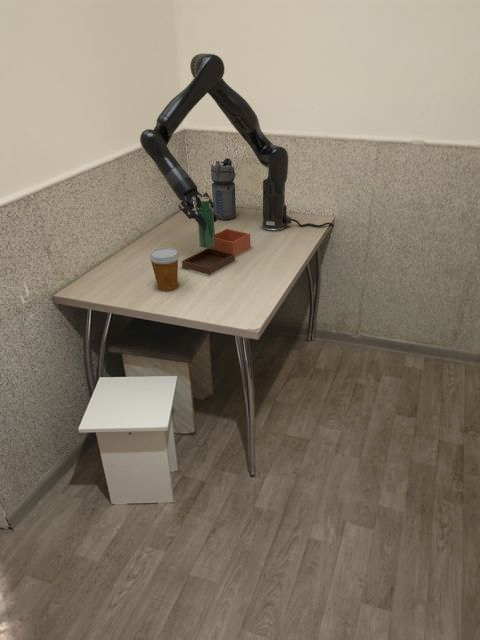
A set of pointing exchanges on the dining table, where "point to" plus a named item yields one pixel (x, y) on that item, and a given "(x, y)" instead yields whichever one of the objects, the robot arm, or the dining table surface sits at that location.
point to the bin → (232, 241)
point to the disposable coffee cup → (165, 267)
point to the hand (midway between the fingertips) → (210, 223)
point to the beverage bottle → (223, 190)
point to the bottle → (208, 230)
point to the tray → (208, 261)
